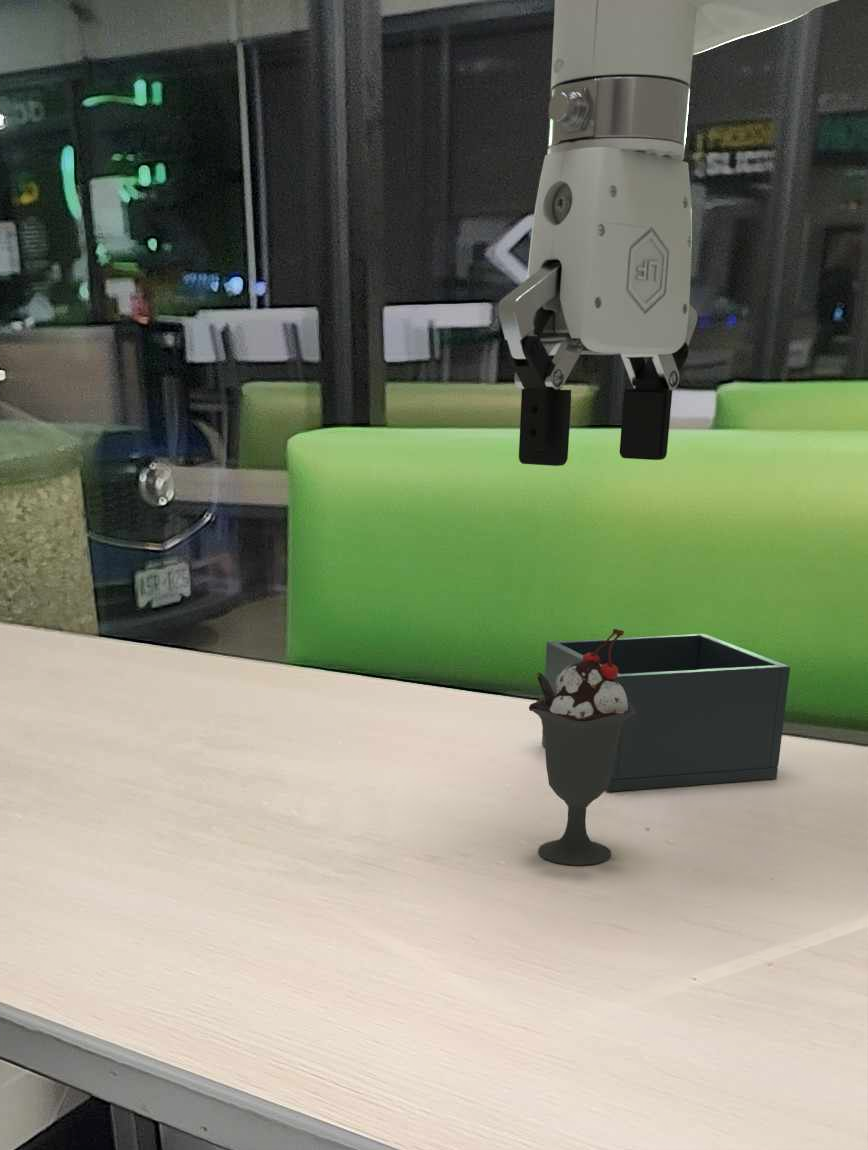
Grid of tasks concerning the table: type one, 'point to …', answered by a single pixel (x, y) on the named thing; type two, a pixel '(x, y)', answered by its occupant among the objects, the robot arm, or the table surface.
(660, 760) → the bin
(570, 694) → the sundae
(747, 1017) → the table surface
